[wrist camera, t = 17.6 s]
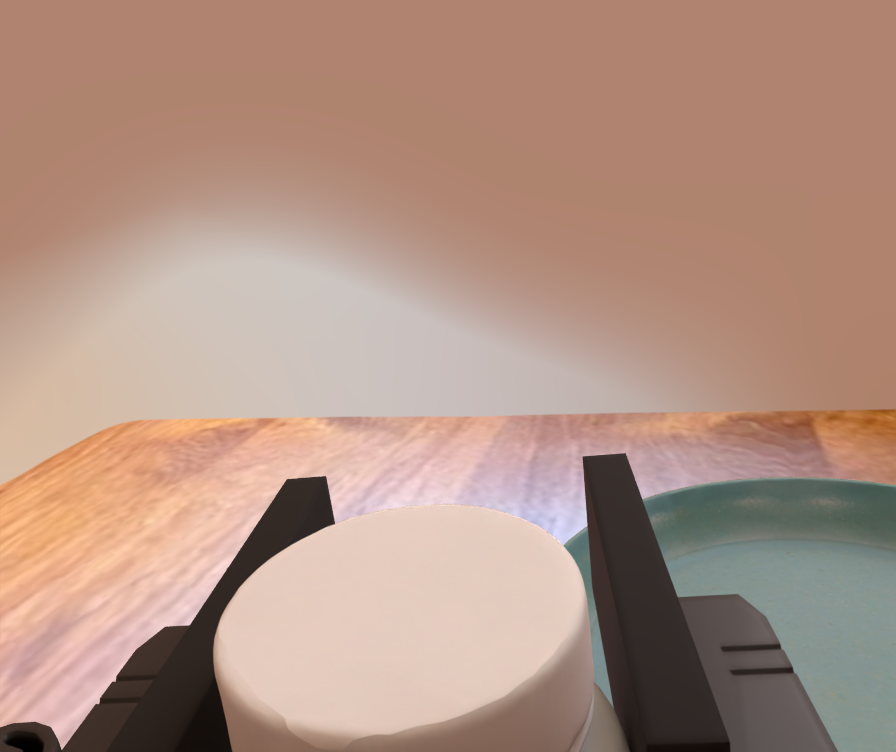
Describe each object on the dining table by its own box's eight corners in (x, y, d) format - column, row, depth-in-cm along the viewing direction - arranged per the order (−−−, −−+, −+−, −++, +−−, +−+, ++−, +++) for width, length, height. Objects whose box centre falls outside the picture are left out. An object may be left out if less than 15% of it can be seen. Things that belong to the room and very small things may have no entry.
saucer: (1789, 1181, 13) (1872, 1061, 12) (500, 1020, 19) (486, 926, 18) (1037, 524, 36) (1045, 463, 35) (548, 532, 41) (543, 479, 40)
